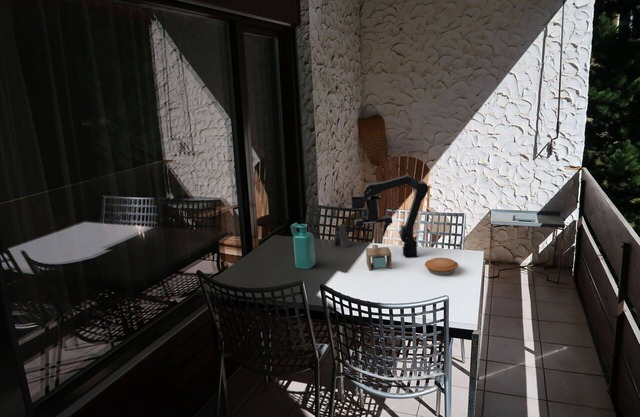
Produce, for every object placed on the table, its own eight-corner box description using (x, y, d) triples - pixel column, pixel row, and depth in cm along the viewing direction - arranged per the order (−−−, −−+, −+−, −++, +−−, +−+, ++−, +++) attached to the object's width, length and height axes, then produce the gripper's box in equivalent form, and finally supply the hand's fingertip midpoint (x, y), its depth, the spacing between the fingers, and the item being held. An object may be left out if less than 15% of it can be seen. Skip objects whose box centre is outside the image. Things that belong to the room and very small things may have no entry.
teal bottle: (316, 264, 265) (313, 222, 259) (309, 269, 257) (306, 227, 252) (299, 262, 269) (296, 221, 263) (292, 268, 261) (288, 226, 256)
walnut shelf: (388, 261, 261) (388, 246, 259) (391, 269, 251) (391, 253, 249) (366, 263, 260) (366, 248, 258) (369, 270, 251) (368, 255, 249)
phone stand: (351, 245, 290) (350, 224, 287) (345, 248, 285) (344, 227, 283) (337, 243, 295) (336, 223, 292) (331, 246, 291) (330, 225, 288)
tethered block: (380, 255, 270) (380, 244, 269) (385, 267, 253) (385, 255, 252) (369, 256, 270) (368, 245, 269) (373, 268, 253) (373, 256, 252)
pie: (434, 279, 235) (434, 269, 234) (419, 268, 250) (418, 258, 248) (464, 274, 239) (464, 264, 238) (447, 263, 253) (447, 253, 252)
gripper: (387, 202, 270) (389, 231, 274) (352, 206, 270) (354, 234, 274) (391, 207, 260) (393, 237, 263) (354, 211, 259) (357, 241, 263)
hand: (374, 237), depth 266 cm, fingers open, 9 cm apart
